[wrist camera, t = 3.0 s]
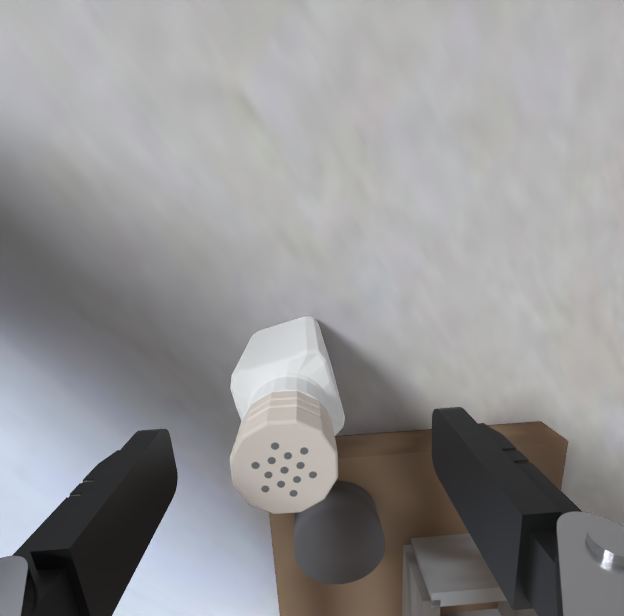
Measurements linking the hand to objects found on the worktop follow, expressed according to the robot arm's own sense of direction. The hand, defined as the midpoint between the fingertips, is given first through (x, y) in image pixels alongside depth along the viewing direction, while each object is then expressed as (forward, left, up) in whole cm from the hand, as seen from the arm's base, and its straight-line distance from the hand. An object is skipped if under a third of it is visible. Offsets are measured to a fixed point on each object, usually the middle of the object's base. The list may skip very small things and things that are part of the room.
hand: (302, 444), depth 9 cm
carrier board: (+6, -14, -9) cm, 18 cm away
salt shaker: (-1, 0, -9) cm, 9 cm away
